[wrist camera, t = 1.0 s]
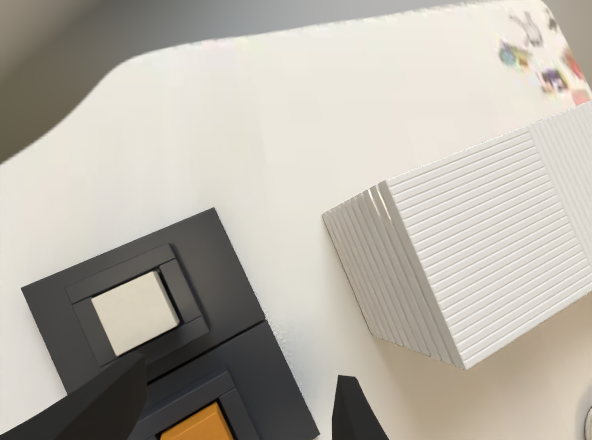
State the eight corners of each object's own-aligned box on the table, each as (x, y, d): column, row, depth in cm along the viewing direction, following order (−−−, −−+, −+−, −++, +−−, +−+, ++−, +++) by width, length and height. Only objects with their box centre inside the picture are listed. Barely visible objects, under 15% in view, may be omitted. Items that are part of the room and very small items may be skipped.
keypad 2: (85, 412, 22) (66, 433, 19) (29, 287, 22) (3, 289, 20) (263, 316, 26) (270, 321, 23) (213, 209, 26) (214, 202, 23)
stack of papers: (574, 113, 37) (714, 52, 27) (615, 203, 37) (774, 175, 26) (321, 214, 28) (385, 180, 18) (371, 334, 28) (467, 371, 17)
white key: (123, 350, 21) (116, 356, 19) (100, 297, 21) (90, 299, 19) (179, 321, 22) (177, 325, 20) (156, 271, 22) (152, 271, 20)
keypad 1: (143, 543, 22) (133, 584, 19) (86, 415, 22) (68, 436, 19) (315, 427, 25) (328, 446, 23) (264, 318, 26) (271, 323, 23)
